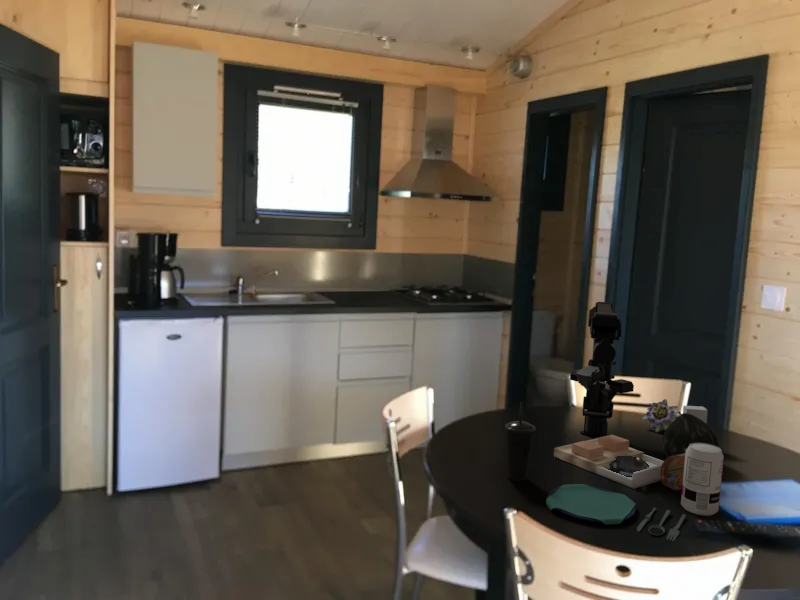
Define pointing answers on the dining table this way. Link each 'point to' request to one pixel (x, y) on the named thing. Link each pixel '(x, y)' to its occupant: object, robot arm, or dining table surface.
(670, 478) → the snack packet
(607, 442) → the far tile
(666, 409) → the passion flower
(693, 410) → the skincare box
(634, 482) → the tray
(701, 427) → the squash
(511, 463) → the drinking cup
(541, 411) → the dining table surface
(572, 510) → the cutlery set
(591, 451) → the near tile
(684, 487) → the supplement can
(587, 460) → the board
